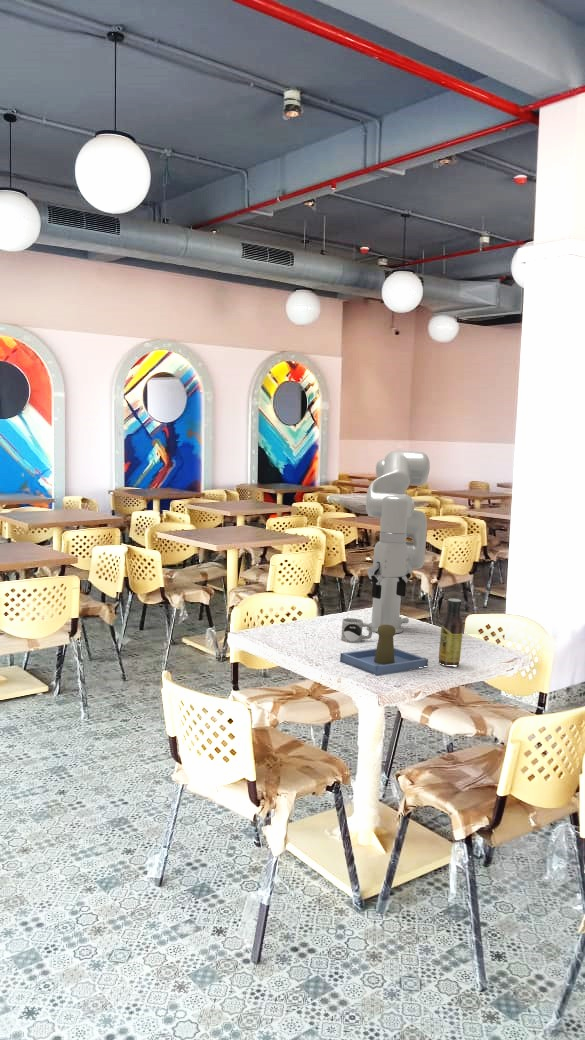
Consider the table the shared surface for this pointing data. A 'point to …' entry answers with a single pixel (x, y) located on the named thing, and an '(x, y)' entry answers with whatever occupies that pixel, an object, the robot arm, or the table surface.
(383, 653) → the cork
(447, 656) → the sauce bottle
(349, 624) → the mug
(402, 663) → the tray
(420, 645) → the table surface
